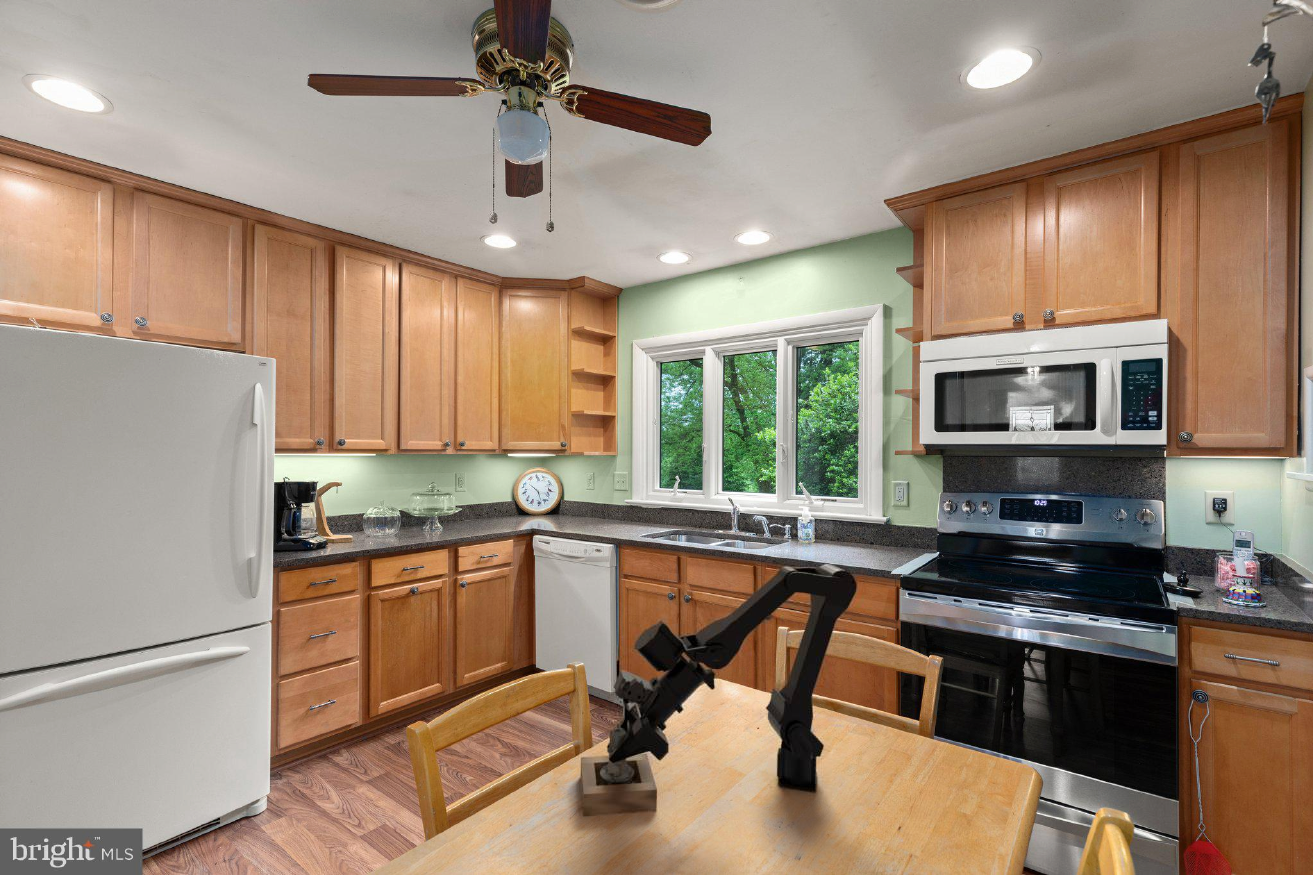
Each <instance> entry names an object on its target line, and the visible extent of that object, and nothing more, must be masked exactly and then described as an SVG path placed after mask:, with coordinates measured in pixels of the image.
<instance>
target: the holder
mask: <svg viewBox="0 0 1313 875" xmlns="http://www.w3.org/2000/svg"><path fill="white" fill-rule="evenodd" d="M608 762H609V755H598V756H585V757H583V756H581V757H580V787H581V789H580V790H581V802H582V803H581V804H582V816H583V817H589V816H602V815H603V816H604V815H605V816H606V815H617V814H618V815H619V814H628V813H629V814H630V813H646V812H657V811H658V810H657V806H658V805H657V803H658V788H657V785H656V781H655V777H654V774H653V770H652V767H651V764H650V761H649V756H648V753H641V754H638V755H635V756H632V757H629V758H626V763H627V765H628V766H630V767H631V768H633V770H634V776H633V777H632V781H636V783H630V784H620V785H597V783H603V781H602V777H601V775H600V771H601V769H602V768H603V767H605V766H607V765H608Z"/></svg>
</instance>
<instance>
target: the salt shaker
mask: <svg viewBox="0 0 1313 875" xmlns="http://www.w3.org/2000/svg"><path fill="white" fill-rule="evenodd" d="M619 724H620V722H619V723H617V724H616V725H615V726H616V727H614V728H612V729H611V731H609V742H610V746H609V748H608V749H607V748H606V749H607V750H606V751H607V753H608V756H609V757H610V755H611V754H612V752H613V751H614V749H615V748H616V747H617V745H618V744H619V743H620V741H621V740H622V739H623V737H624V736H625V735H626V731H625V730H624V729H622V728H620V725H619ZM600 775H601V777H602V781H603V782H602V783H603V786H605V785H620V784H632V781H633V780H632V777H633V776H634V770H633V768H631V767H630V766H628V765H627V763H626V759H623V760H621V761H618V762H615V763H612V762H611V761H610V760H609V762H608V765H607V766H605V767H603V768H602V769H601V771H600Z"/></svg>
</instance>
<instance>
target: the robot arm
mask: <svg viewBox="0 0 1313 875" xmlns="http://www.w3.org/2000/svg"><path fill="white" fill-rule="evenodd" d="M857 589H858V582H857V581H856V579H855V576H854V575H853V574H851V572H848V571H847V570H844V569H842V568H840V567H838V566H835V565H834V564H830V563H825V564H822V565H820V566H818V567H812V566H811V567H810V566H803V567H800V566H799V567H792V566H787V565H786V566H783V567H781V568H779V569H778V571H777V572H776V574H774V576H772V577H771V578H770V579H769V580H768V581H767V582H766V583H765V584H763V585H762V586H761V587H760V588H759V589H758V590H757V591H755V592H754V593H753V594H752V595H751V596H750V597H748V599H746V600H745V601H744V602H743V603H742V604H741V605H740V606H738V607H737V608H736V609H735V610H734V611H733V612H732V613H730V614H729V615H727V616H726V617H723V618H722V617H721V618H720V619H718V620H714V621H713V622H711V623H709V624H708V625H706V626H704V627H703V628H701V629H700V630H698V632H697V633H692V634H686V635H680V636H677V635H676V634H675V633H674V632H673V630H671V629H670V627H669V626H668V624H667V623H666V622H665V621H664V620H660V621H659V622H658V623H657V624H656V623H655V624H654V625H652V626H650V627H649V628H647V629H644V630H643V632H642V633H641V634H640V635H639V637H638V638H637V639H636V641H635V643H634V645H633V646H634V647H633V649H634V650H635V651H636V652H637V653H638V654H639V655H640V656H641V657H642V658H643V659H644V660H645V661H646V662H647V663H648V664H649V665H650V666H651V667H652V668H653V669H654V670H655V671H656V672H663V673H664V674H662V676H660V678H659V677H658V676H657V675H656V676H655V677H652V678H651V679H650V680H646V679H644V678H643V677H641V676H638V675H636V674H634V673H632V672H629V671H627V670H625V669H622V670H620V673H619V675H618V676H617V679H616V681H615V682H614V684H613V689H614V694H615V695H616V697H618V698H620V699H625V700H627V701H629V702H628V703H626V702H625V701H623V702H622V705H623V710H622V711H623V712H622V713H623V714H622V715H623V716H622V719H621V721H620V722H619V725H620V728H622V729H624V730H625V731H626V735H625V736H624V737H623V739H622V740H621V741H620V743H619V744H618V745H617V747H616V748H615V749H614V751H613V752H612V754H611V755H610V757H609V760H610V761H611V762H612V763H615V762H618V761H621V760H623V759H626V758H629V757H632V756H635V755H638V754H646V753H648V752H650V753H651V755H653V756H654V757H655V758H656V759H657V760H658V761H662V760H663V759H664V757H666V755H667V754H668V753H669V750H670V749H669V741H668V739H667V736H666V734H665V733H664V732H663V731H665V730H666V728H667V725H666V722H667V721H668V720H669V719H670V718H671V717H672V715H673V714H674V713H676V712H677V713H678V714H681V713H682V712H683V711H684V707H683V704H684V703H685V702H686V701H687V700H688V699H689V698H690V697H691V696H692V694H694V693H695V691H697V690H698V688H699V687H701V686H702V684H705V685H706V686H707V687H708V688H709V689H710V690H711V691H712V690H714V689H715V688H716V686H715V677H716V673H715V672H714V670H720V671H721V670H722V669H724V668H726V667H727V666H729V664H730V663H731V662H732V660H733V659H734V658H735V657H736V656H737V654H738V653H739V652H740V651H741V648H742V645H743V644H744V641H745V640H746V639H747V637H749V635H750V634H751V633H752V632H753V631H754V630H756V629H757V628H758V627H759V626H760V625H761V624H762V623H763V622H764V621H766V620H767V619H768V618H769V617H770V616H771V615H773V613H774V612H775V611H777V610H778V609H779V608H780V607H781V606H782V605H783V604H785V603H786V602H787V601H788V600H789V599H790V598H791V597H792V596H794V594H796V593H798V594H799V593H800V594H807V595H810V612H809V615H808V618H807V622H806V624H805V628H804V631H803V633H802V636H801V640H800V643H799V645H798V646H799V647H798V649H797V652H796V655H795V658H794V661H793V664H792V668H791V670H790V674H789V677H788V680H787V683H786V684H785V685H784V686H783V687H782V688H781V689H780V690H779V689H776V688H773V689H772V691H771V695H770V696H771V697H770V700H769V703H768V704H767V705H766V707H765V709H766V711H767V720H768V722H769V724H770V726H771V728H772V729H773V730H774V731H775V733H776V734H777V735H778V737H779V738H780V739H781V742H780V743H781V744H780V747H779V748H777V755H776V757H777V758H776V777H777V778H779V779H778V786H780V787H783V788H789V789H796V790H803V791H807V792H813V793H815V792H817V791H818V790H817V788H818V787H817V781H818V780H817V779H818V772H817V758H819V757H822V756H821V755H822V753H823V750H824V747H825V745H824V743H822V741H821V740H820V739H819V738H818V737H817V736H816V734H815V733H814V732H813V731H812V727H813V726H812V725H813V720H814V711H813V709H814V707H813V706H814V704H813V694H814V691H815V688H816V686H817V681H818V679H819V676H820V672H821V669H822V666H823V664H824V660H825V657H826V655H827V651H828V648H829V644H830V642H831V638H832V635H833V632H834V629H835V625H836V623H837V621H838V619H839V618H840V617H841V616H842V615H843V614H844V613H845V612H846V611H847V610H848V609H849V607H850V605H851V603H852V601H853V599H854V598H855V595H856V593H857ZM685 655H686V656H685ZM703 665H704V666H703ZM705 667H706V668H705ZM673 716H674V715H673ZM609 746H610V741H609V742H608V744H607V746H606V749H608V748H609Z"/></svg>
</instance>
